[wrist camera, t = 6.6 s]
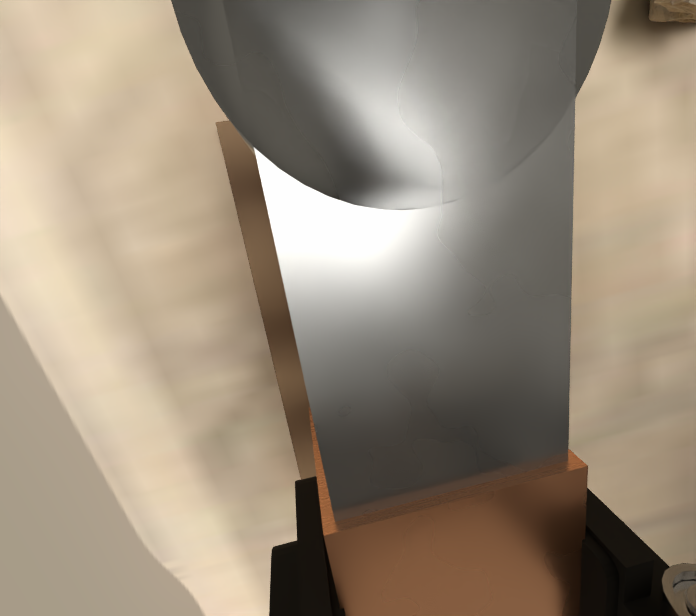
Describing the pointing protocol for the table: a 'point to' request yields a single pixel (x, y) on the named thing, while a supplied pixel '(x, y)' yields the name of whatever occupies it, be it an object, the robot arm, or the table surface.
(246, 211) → the rack
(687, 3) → the rock
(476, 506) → the two-ball handle bar
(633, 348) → the table surface
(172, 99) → the table surface
